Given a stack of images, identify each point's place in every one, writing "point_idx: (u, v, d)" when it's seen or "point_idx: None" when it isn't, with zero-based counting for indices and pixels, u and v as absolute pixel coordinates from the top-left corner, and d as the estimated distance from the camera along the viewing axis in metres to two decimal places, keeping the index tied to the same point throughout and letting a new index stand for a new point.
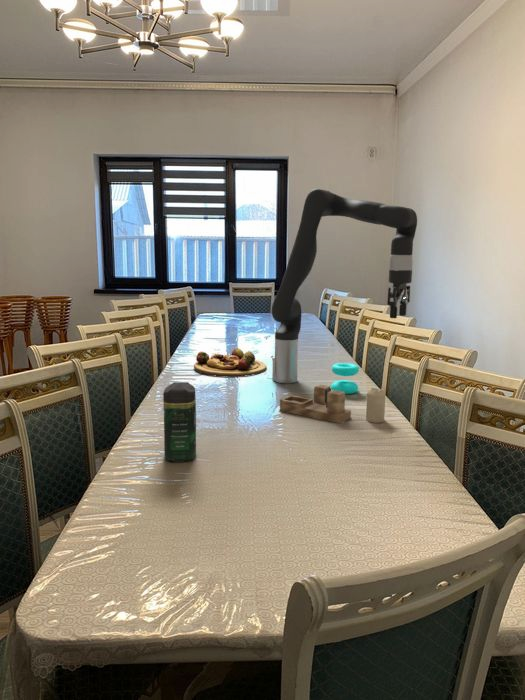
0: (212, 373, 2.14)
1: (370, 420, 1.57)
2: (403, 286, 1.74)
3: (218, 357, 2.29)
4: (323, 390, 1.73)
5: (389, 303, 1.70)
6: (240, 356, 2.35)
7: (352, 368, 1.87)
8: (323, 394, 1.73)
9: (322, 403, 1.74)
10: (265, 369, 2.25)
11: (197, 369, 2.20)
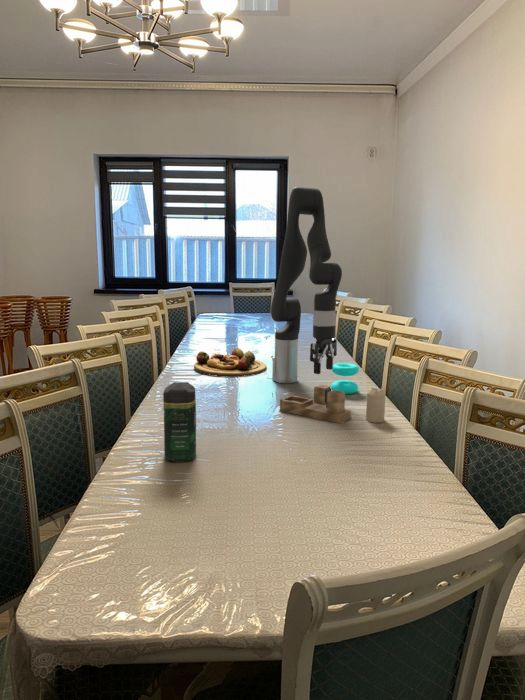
0: (212, 373, 2.14)
1: (370, 420, 1.57)
2: (327, 341, 1.72)
3: (218, 357, 2.29)
4: (323, 390, 1.73)
5: (311, 359, 1.68)
6: (240, 356, 2.35)
7: (352, 368, 1.87)
8: (323, 394, 1.73)
9: (322, 403, 1.74)
10: (265, 369, 2.25)
11: (197, 369, 2.20)
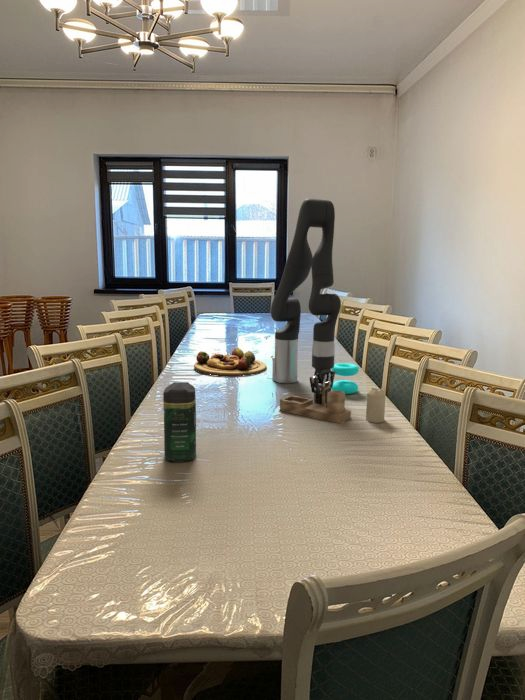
0: (212, 373, 2.14)
1: (370, 420, 1.57)
2: (326, 370, 1.74)
3: (218, 357, 2.29)
4: (323, 390, 1.73)
5: (313, 391, 1.72)
6: (240, 356, 2.35)
7: (352, 368, 1.87)
8: (323, 394, 1.73)
9: (322, 403, 1.74)
10: (265, 369, 2.25)
11: (197, 369, 2.20)
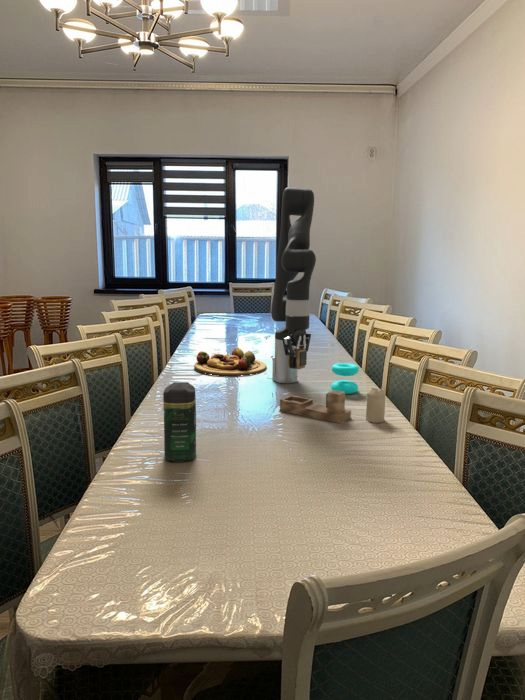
0: (212, 373, 2.15)
1: (370, 420, 1.57)
2: (301, 332, 1.64)
3: (218, 357, 2.29)
4: (298, 353, 1.62)
5: (287, 354, 1.61)
6: (240, 356, 2.35)
7: (352, 368, 1.87)
8: (298, 357, 1.63)
9: (297, 367, 1.63)
10: (265, 369, 2.26)
11: (197, 369, 2.21)
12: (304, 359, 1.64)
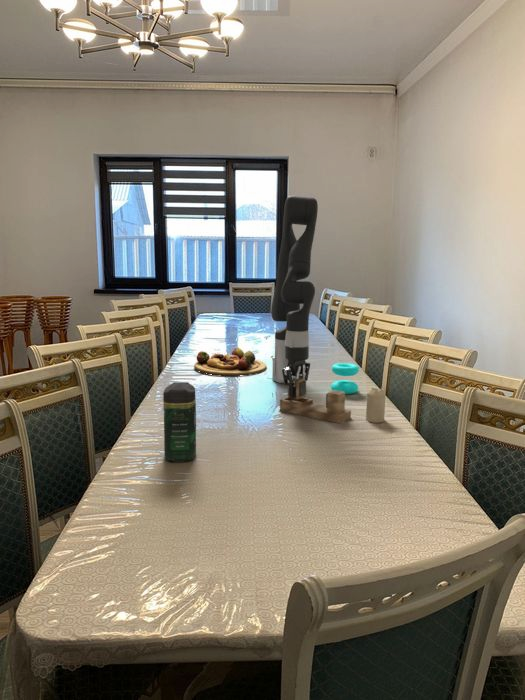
0: (212, 373, 2.15)
1: (370, 420, 1.57)
2: (300, 362, 1.65)
3: (218, 357, 2.30)
4: (297, 383, 1.64)
5: (286, 384, 1.63)
6: (240, 356, 2.35)
7: (352, 368, 1.87)
8: (297, 387, 1.64)
9: (296, 396, 1.65)
10: (265, 369, 2.26)
11: (197, 369, 2.21)
12: (304, 389, 1.66)
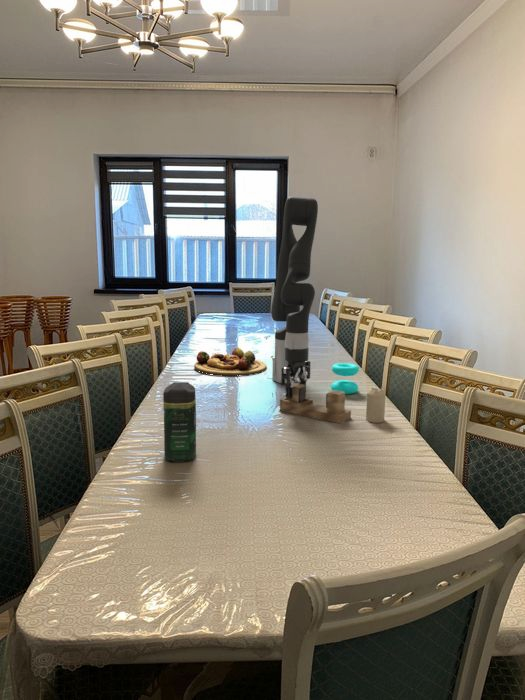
0: (212, 373, 2.15)
1: (370, 420, 1.57)
2: (300, 364, 1.66)
3: (218, 357, 2.30)
4: (296, 389, 1.65)
5: (283, 384, 1.62)
6: (240, 356, 2.35)
7: (352, 368, 1.87)
8: (297, 393, 1.65)
9: None
10: (265, 369, 2.26)
11: (197, 369, 2.21)
12: (303, 395, 1.67)
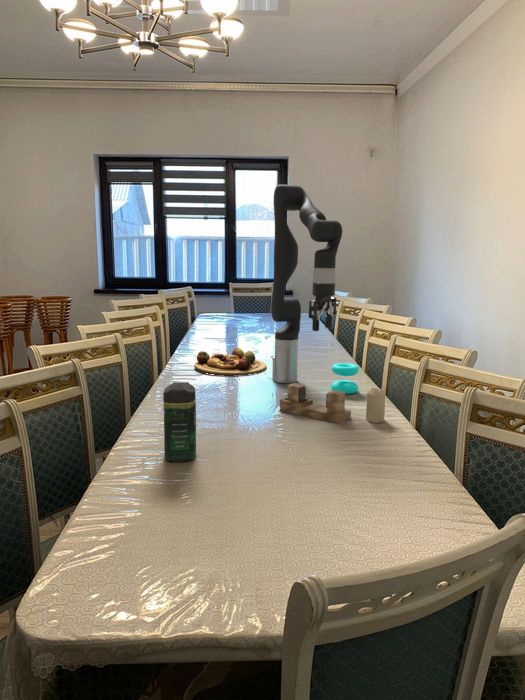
0: (212, 372, 2.15)
1: (370, 420, 1.57)
2: (327, 299, 1.74)
3: (218, 357, 2.30)
4: (296, 389, 1.65)
5: (310, 316, 1.70)
6: (240, 356, 2.36)
7: (352, 368, 1.87)
8: (297, 393, 1.65)
9: None
10: (265, 369, 2.26)
11: (197, 369, 2.21)
12: (303, 395, 1.67)
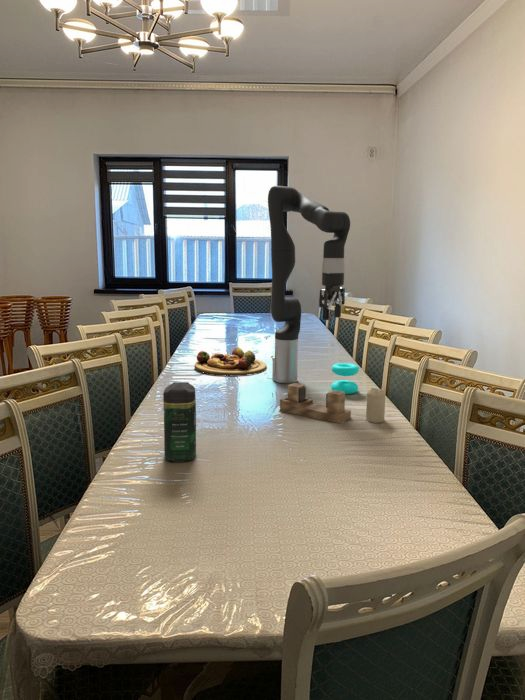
0: (212, 372, 2.15)
1: (370, 420, 1.57)
2: (336, 288, 1.77)
3: (218, 356, 2.30)
4: (296, 389, 1.65)
5: (320, 305, 1.73)
6: (240, 355, 2.36)
7: (352, 368, 1.87)
8: (297, 393, 1.65)
9: None
10: (265, 368, 2.26)
11: (197, 368, 2.21)
12: (303, 395, 1.67)
